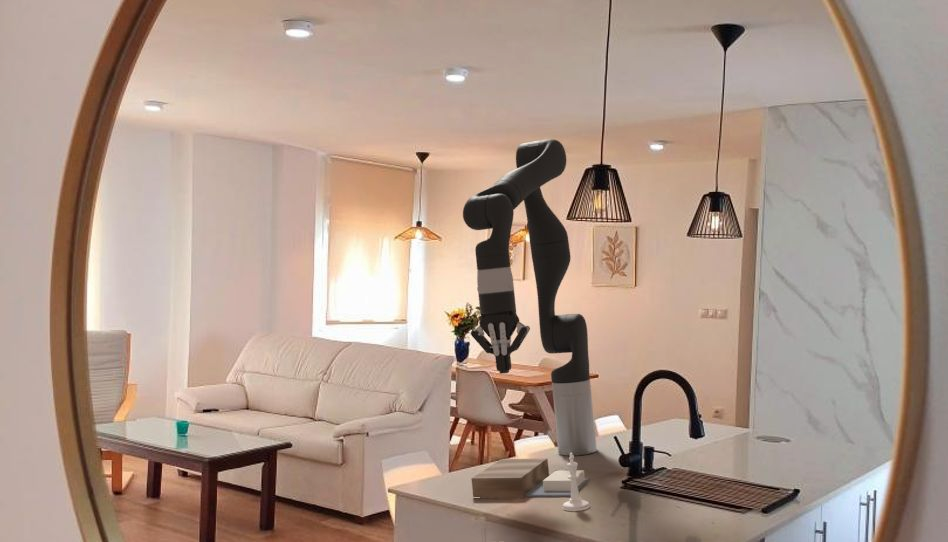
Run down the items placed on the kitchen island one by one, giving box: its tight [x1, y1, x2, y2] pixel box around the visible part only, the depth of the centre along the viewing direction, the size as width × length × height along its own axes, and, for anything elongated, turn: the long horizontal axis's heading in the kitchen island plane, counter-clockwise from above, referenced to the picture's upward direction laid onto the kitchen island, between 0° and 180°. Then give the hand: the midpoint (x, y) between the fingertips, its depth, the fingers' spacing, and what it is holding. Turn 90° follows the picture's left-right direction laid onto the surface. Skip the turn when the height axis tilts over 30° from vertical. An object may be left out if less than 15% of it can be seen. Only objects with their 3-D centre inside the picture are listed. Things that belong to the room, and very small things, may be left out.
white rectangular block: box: [543, 469, 586, 491], centre depth 181 cm, size 9×6×2 cm, turn 158°
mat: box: [524, 477, 590, 498], centre depth 181 cm, size 14×10×1 cm
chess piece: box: [562, 453, 591, 512], centre depth 165 cm, size 5×5×10 cm
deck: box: [471, 457, 550, 499], centre depth 186 cm, size 18×10×4 cm, turn 159°
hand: (504, 372), depth 188 cm, fingers closed
